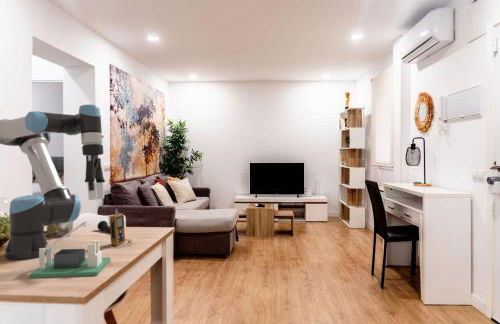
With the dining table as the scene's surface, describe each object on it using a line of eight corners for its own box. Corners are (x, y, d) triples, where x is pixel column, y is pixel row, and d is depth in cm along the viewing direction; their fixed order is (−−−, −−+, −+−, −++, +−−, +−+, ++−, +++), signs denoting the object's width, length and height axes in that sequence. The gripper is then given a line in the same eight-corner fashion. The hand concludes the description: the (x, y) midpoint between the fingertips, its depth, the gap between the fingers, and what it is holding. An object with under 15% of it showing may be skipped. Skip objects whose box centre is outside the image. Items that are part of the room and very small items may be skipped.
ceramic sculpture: (75, 218, 183) (40, 223, 174) (76, 236, 184) (42, 242, 175) (70, 215, 192) (37, 220, 183) (71, 232, 192) (38, 238, 183)
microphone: (119, 240, 189) (103, 230, 203) (122, 229, 190) (106, 220, 203) (109, 238, 186) (94, 228, 199) (113, 228, 186) (97, 218, 200)
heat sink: (53, 269, 128) (53, 254, 127) (62, 262, 136) (62, 249, 135) (78, 268, 129) (78, 254, 129) (85, 261, 137) (85, 248, 136)
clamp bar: (43, 255, 129) (39, 250, 129) (48, 252, 133) (44, 247, 133) (85, 226, 131) (81, 221, 130) (88, 224, 135) (85, 219, 134)
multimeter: (128, 247, 160) (125, 200, 159) (106, 248, 161) (103, 201, 161) (144, 239, 174) (141, 196, 174) (124, 240, 176) (121, 197, 175)
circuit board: (29, 277, 122) (29, 250, 122) (51, 262, 140) (51, 238, 140) (97, 275, 125) (97, 248, 124) (110, 260, 142) (110, 236, 142)
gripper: (95, 139, 135) (100, 198, 134) (108, 147, 160) (112, 197, 159) (73, 141, 134) (78, 201, 133) (89, 149, 158) (93, 199, 157)
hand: (96, 199), depth 146 cm, fingers open, 13 cm apart
